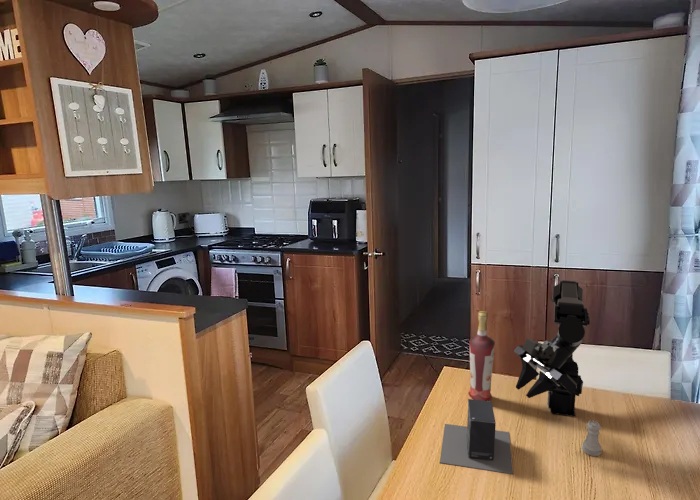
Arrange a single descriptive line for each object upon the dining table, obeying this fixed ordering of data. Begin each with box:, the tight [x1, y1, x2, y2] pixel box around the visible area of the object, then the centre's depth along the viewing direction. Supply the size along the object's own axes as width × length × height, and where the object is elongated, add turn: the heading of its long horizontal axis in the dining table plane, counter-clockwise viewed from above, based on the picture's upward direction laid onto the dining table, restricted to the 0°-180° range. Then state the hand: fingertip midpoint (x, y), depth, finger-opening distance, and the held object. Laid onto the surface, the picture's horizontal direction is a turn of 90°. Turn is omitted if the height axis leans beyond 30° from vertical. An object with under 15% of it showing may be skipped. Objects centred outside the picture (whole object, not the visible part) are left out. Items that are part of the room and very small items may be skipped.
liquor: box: [468, 310, 495, 401], centre depth 138 cm, size 7×7×28 cm
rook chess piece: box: [581, 419, 603, 457], centre depth 114 cm, size 4×4×8 cm
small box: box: [466, 398, 497, 460], centre depth 116 cm, size 11×6×10 cm, turn 168°
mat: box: [439, 423, 514, 475], centre depth 118 cm, size 17×17×1 cm
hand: (522, 392), depth 117 cm, fingers open, 4 cm apart
